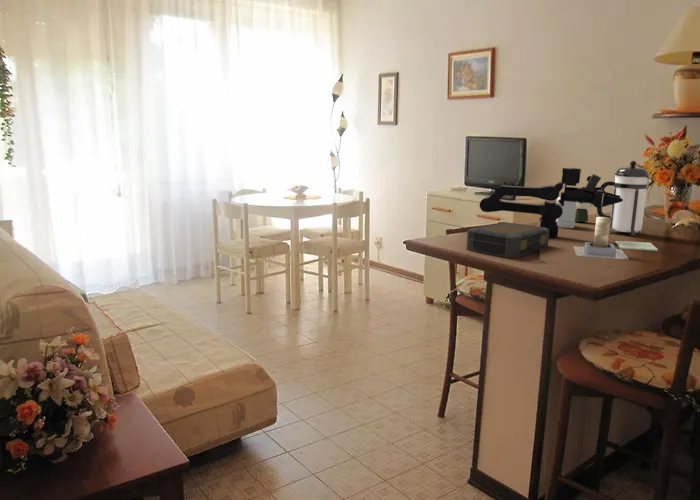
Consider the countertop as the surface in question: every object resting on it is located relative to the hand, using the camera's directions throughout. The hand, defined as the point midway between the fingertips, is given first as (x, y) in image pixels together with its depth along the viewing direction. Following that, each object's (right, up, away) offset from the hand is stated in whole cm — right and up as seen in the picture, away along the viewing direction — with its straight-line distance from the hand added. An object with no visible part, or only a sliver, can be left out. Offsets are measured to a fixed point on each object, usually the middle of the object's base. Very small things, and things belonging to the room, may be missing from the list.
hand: (621, 198), depth 221 cm
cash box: (-47, -20, -12) cm, 52 cm away
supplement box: (-8, -9, +36) cm, 38 cm away
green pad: (+1, -19, -10) cm, 21 cm away
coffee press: (+10, -13, +21) cm, 27 cm away
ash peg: (-17, -20, -21) cm, 34 cm away
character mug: (+4, -7, +48) cm, 48 cm away
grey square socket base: (-17, -21, -21) cm, 34 cm away
